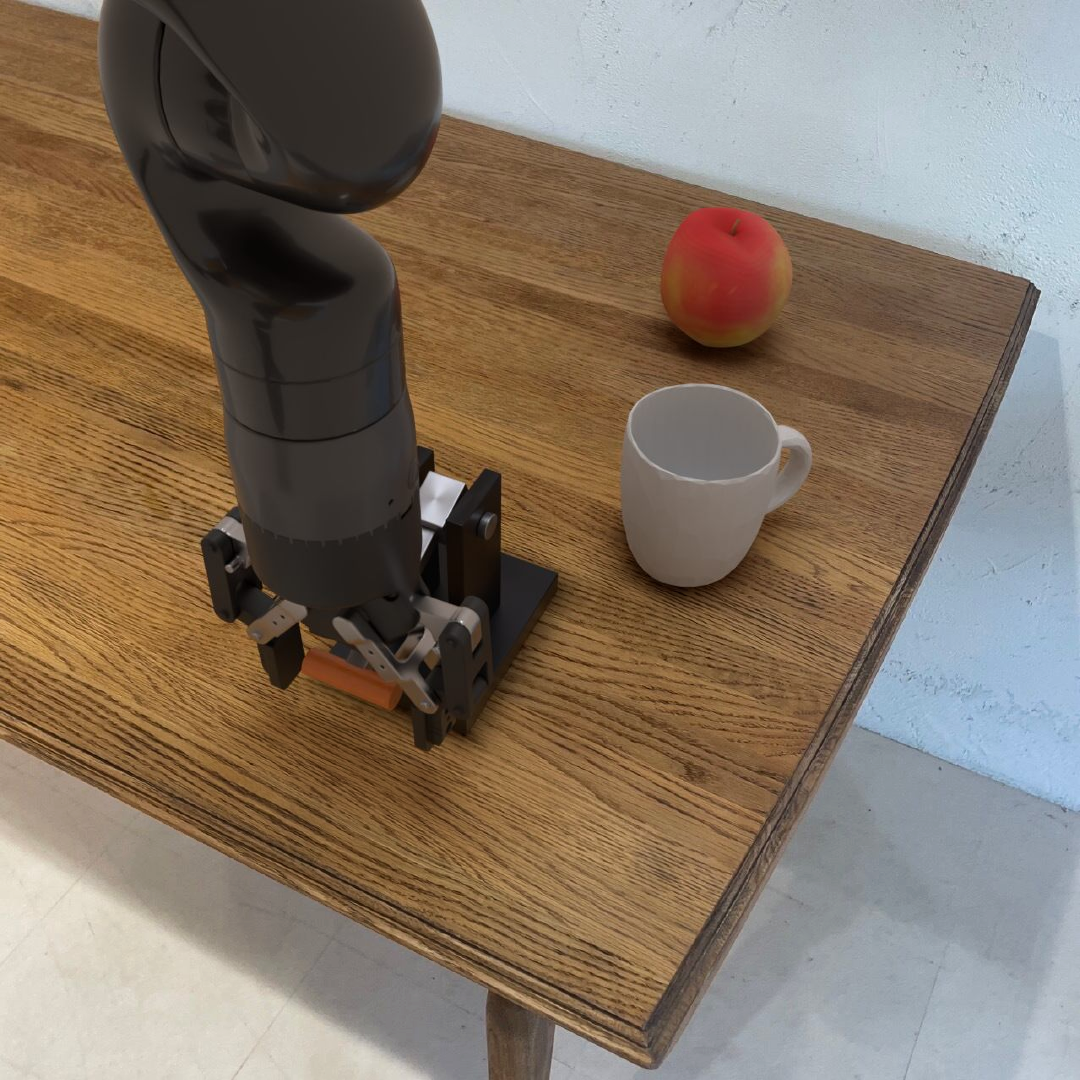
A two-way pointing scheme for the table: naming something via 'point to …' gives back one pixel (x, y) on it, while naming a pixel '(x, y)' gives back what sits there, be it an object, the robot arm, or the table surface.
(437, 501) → the switch
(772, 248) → the apple
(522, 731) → the table surface
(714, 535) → the mug
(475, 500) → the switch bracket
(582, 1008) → the table surface
